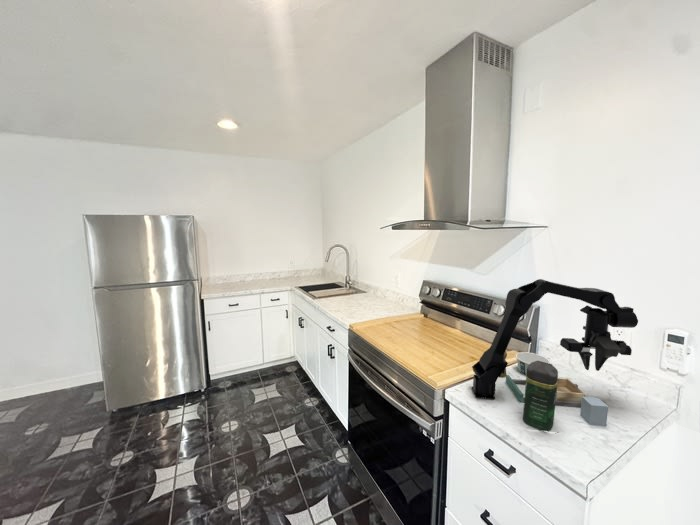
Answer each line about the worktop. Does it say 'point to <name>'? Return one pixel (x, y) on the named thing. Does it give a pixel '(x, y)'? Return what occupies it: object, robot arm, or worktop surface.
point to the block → (594, 411)
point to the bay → (519, 396)
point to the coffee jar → (540, 395)
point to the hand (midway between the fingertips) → (592, 370)
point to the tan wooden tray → (568, 391)
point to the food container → (528, 360)
